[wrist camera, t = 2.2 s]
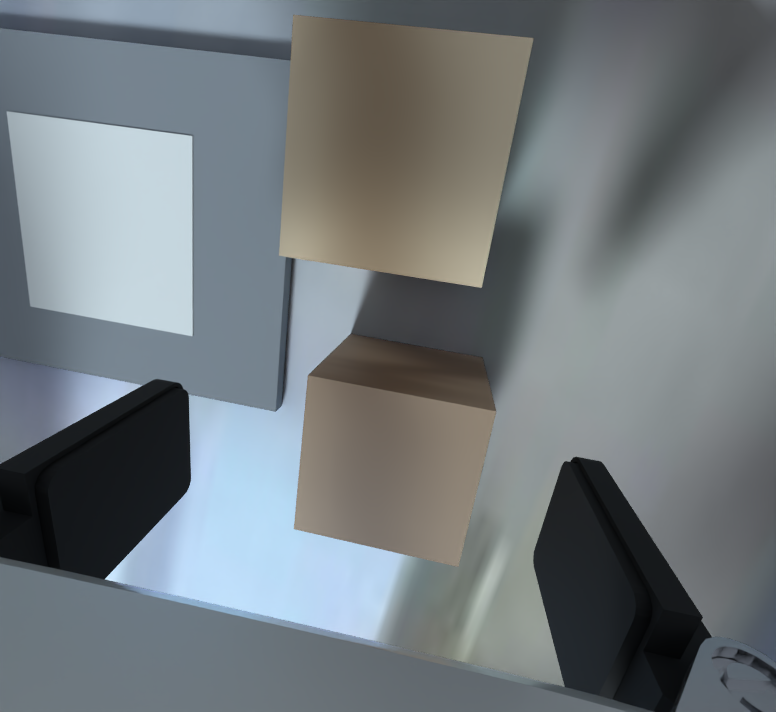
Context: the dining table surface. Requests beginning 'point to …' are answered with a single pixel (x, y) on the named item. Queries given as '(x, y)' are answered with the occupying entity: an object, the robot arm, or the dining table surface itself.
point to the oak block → (398, 145)
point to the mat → (144, 213)
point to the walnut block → (394, 447)
